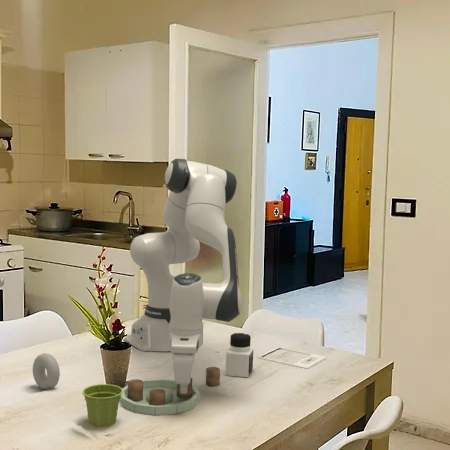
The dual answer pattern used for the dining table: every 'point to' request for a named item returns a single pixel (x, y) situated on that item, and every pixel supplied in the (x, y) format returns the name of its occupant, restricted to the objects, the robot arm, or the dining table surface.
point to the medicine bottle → (239, 356)
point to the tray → (160, 408)
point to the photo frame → (303, 363)
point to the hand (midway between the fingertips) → (184, 389)
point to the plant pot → (102, 403)
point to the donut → (40, 375)
